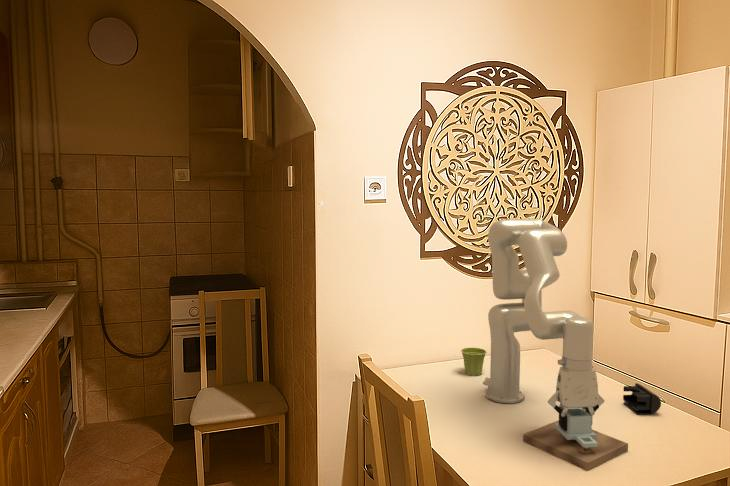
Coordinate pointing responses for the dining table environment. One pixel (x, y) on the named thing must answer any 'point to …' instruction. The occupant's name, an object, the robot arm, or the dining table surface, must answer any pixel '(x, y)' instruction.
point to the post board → (575, 446)
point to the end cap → (641, 400)
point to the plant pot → (473, 360)
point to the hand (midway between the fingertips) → (575, 427)
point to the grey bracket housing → (579, 427)
